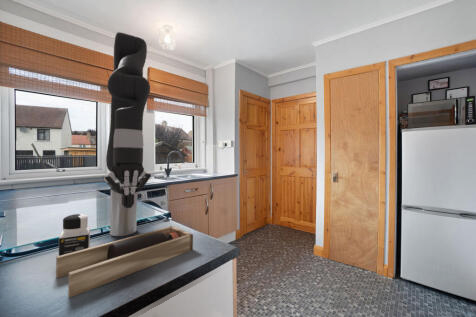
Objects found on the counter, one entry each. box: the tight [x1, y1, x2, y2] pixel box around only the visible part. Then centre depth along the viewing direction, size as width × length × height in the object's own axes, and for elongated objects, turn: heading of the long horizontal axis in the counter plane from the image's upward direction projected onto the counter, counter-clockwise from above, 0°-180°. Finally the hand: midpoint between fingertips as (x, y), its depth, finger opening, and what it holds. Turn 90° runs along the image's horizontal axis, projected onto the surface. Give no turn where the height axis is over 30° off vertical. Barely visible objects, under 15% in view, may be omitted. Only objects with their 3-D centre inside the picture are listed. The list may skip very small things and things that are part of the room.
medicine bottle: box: [58, 213, 91, 256], centre depth 67 cm, size 7×7×12 cm
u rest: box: [55, 225, 194, 298], centre depth 64 cm, size 12×33×5 cm, turn 140°
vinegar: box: [107, 232, 179, 260], centre depth 67 cm, size 7×7×20 cm
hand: (127, 207), depth 63 cm, fingers closed
